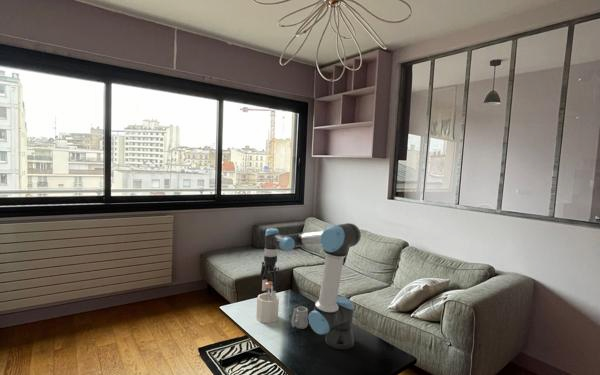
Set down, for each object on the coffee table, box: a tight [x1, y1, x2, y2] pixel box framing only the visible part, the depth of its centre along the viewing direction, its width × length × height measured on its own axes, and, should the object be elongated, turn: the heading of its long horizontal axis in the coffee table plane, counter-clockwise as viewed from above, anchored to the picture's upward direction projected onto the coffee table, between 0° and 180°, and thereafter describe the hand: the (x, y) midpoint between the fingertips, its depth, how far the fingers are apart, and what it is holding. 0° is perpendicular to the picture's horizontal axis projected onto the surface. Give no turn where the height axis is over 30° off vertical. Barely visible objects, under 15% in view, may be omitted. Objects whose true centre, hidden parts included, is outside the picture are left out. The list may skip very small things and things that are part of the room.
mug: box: [290, 306, 309, 330], centre depth 189 cm, size 8×12×12 cm, turn 136°
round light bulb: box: [265, 280, 273, 301], centre depth 196 cm, size 9×9×18 cm
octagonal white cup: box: [256, 292, 280, 324], centre depth 198 cm, size 16×12×13 cm
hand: (268, 292), depth 196 cm, fingers open, 8 cm apart
